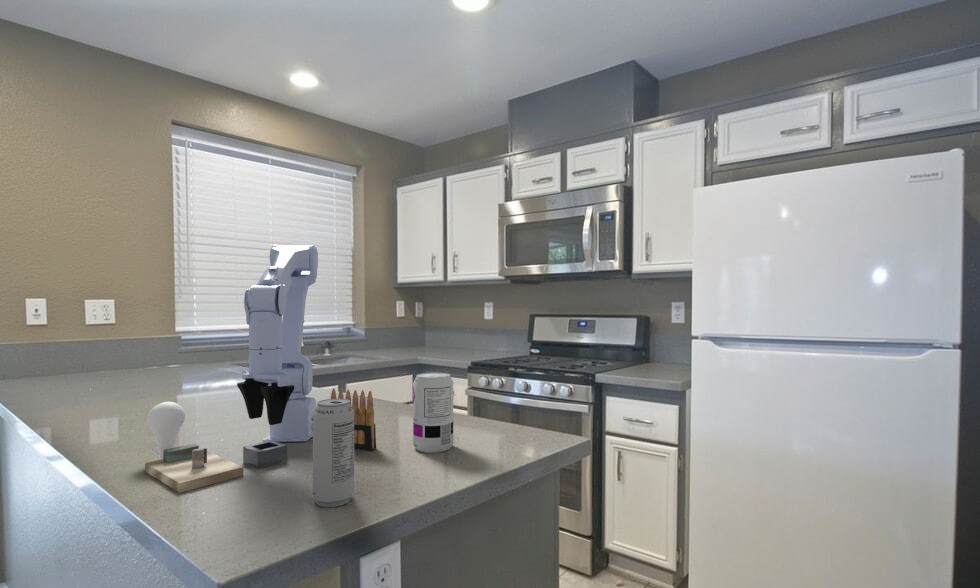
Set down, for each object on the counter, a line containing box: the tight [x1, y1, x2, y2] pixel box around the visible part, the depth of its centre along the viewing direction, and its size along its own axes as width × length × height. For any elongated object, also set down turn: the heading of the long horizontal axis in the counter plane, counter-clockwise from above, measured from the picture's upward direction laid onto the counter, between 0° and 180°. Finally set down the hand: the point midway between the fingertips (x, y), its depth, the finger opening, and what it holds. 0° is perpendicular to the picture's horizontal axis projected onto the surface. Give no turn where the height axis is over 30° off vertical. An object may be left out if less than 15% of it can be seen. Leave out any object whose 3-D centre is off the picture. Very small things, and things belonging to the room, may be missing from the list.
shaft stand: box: [144, 443, 244, 494], centre depth 89 cm, size 16×10×4 cm, turn 51°
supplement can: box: [412, 372, 454, 454], centre depth 104 cm, size 8×8×15 cm
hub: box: [242, 440, 288, 470], centre depth 95 cm, size 6×6×3 cm
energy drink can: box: [312, 398, 355, 508], centre depth 77 cm, size 6×6×15 cm
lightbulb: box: [146, 401, 186, 459], centre depth 97 cm, size 6×6×11 cm
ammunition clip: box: [330, 388, 377, 452], centre depth 105 cm, size 11×2×12 cm, turn 71°
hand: (265, 420), depth 95 cm, fingers open, 7 cm apart
